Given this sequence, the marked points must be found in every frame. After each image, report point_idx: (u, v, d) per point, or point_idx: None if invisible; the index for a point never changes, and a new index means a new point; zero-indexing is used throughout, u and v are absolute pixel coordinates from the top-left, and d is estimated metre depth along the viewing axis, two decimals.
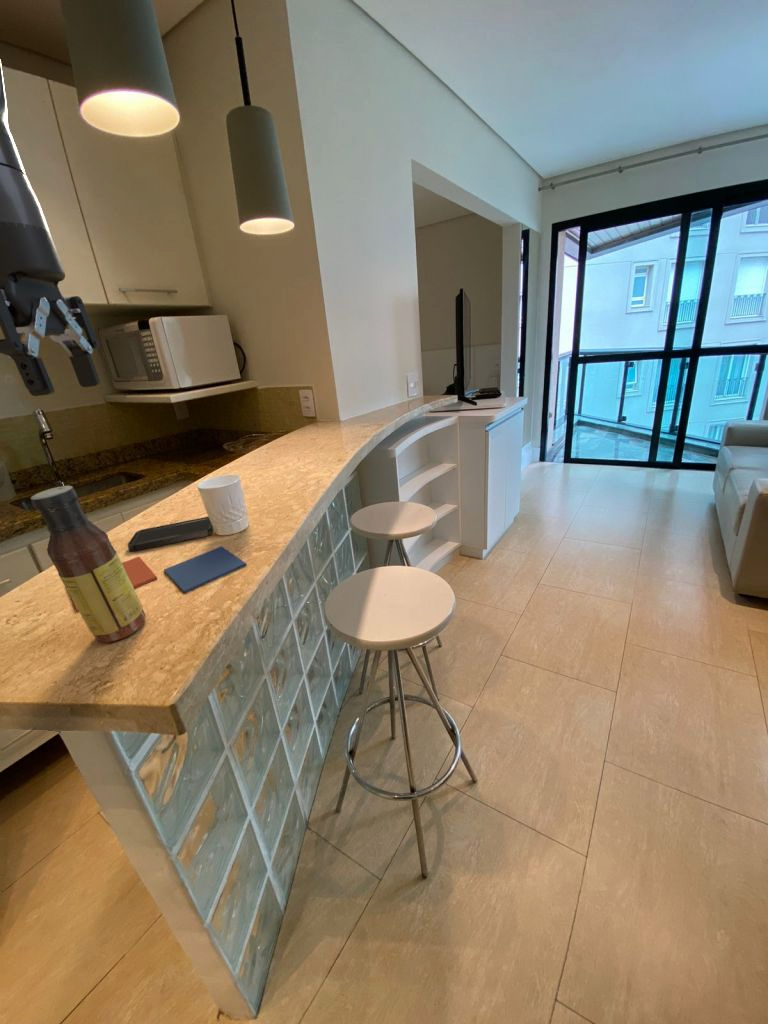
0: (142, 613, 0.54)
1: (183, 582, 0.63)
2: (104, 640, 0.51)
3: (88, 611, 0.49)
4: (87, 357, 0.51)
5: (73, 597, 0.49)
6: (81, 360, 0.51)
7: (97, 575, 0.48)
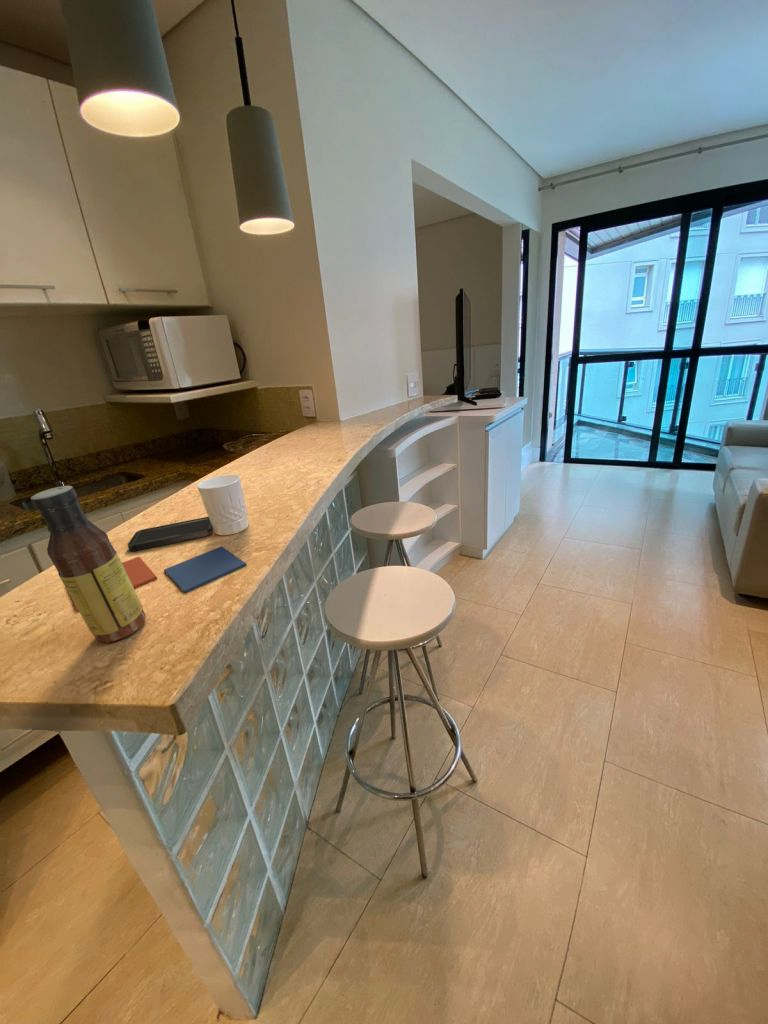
0: (142, 613, 0.54)
1: (183, 582, 0.63)
2: (104, 640, 0.51)
3: (88, 611, 0.49)
4: None
5: (73, 597, 0.49)
6: None
7: (97, 575, 0.48)
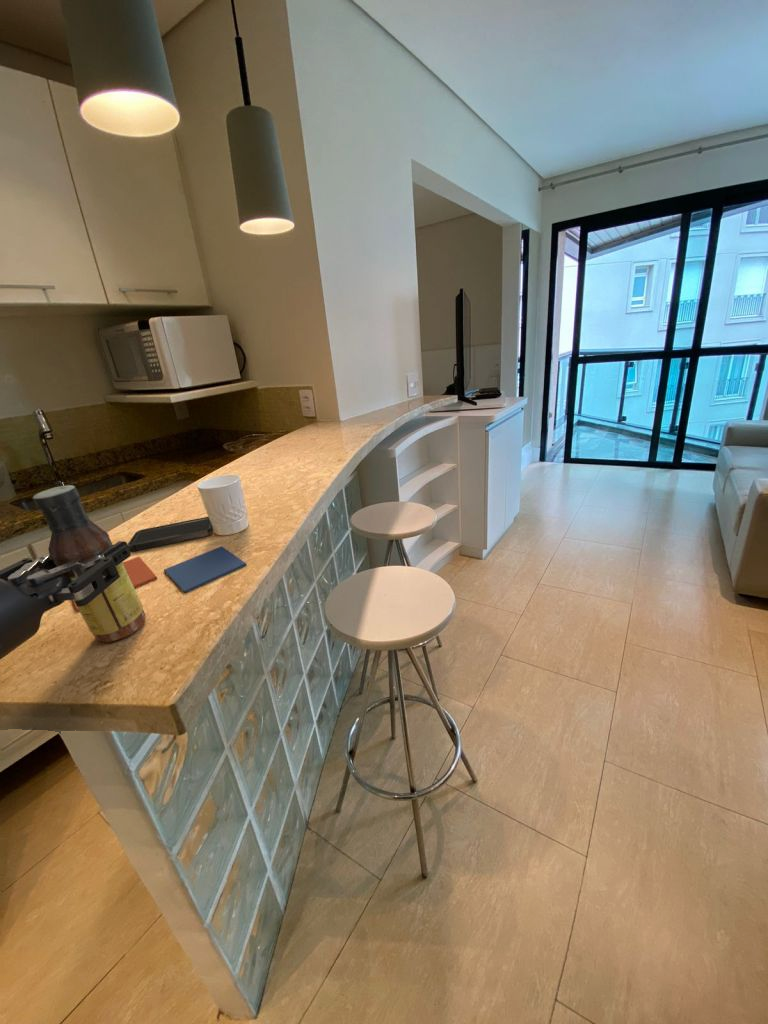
0: (142, 613, 0.54)
1: (183, 582, 0.63)
2: (104, 640, 0.51)
3: (89, 610, 0.49)
4: None
5: None
6: None
7: None
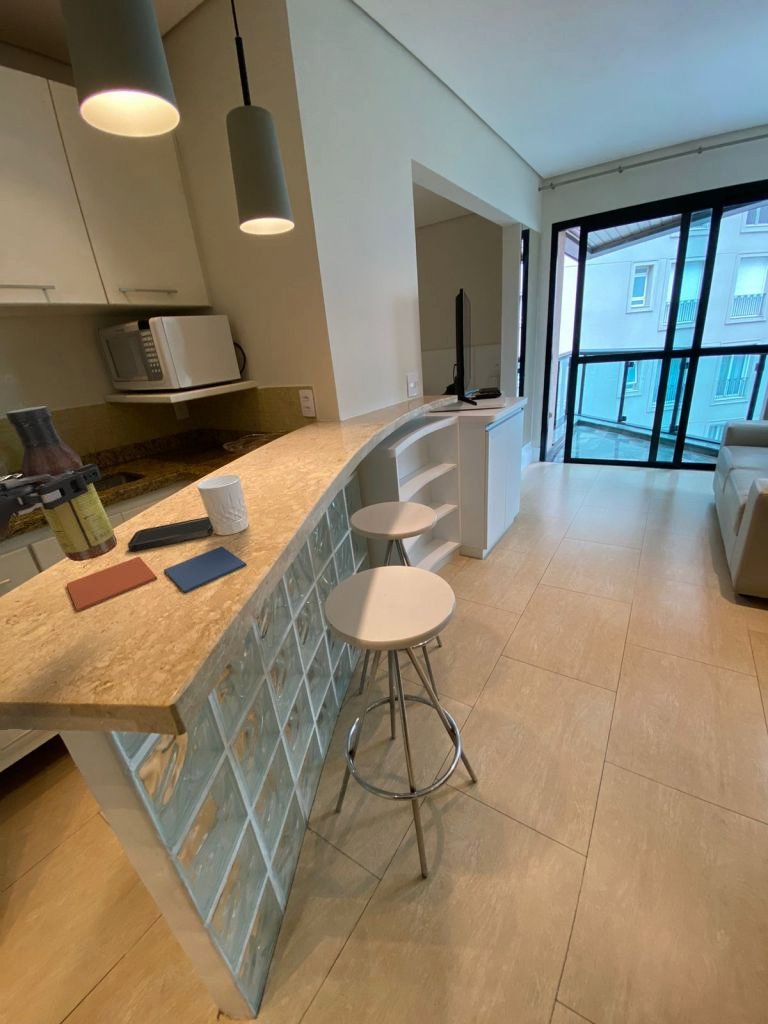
0: (113, 538, 0.57)
1: (183, 582, 0.63)
2: (75, 558, 0.54)
3: (60, 527, 0.52)
4: None
5: (45, 513, 0.51)
6: None
7: None
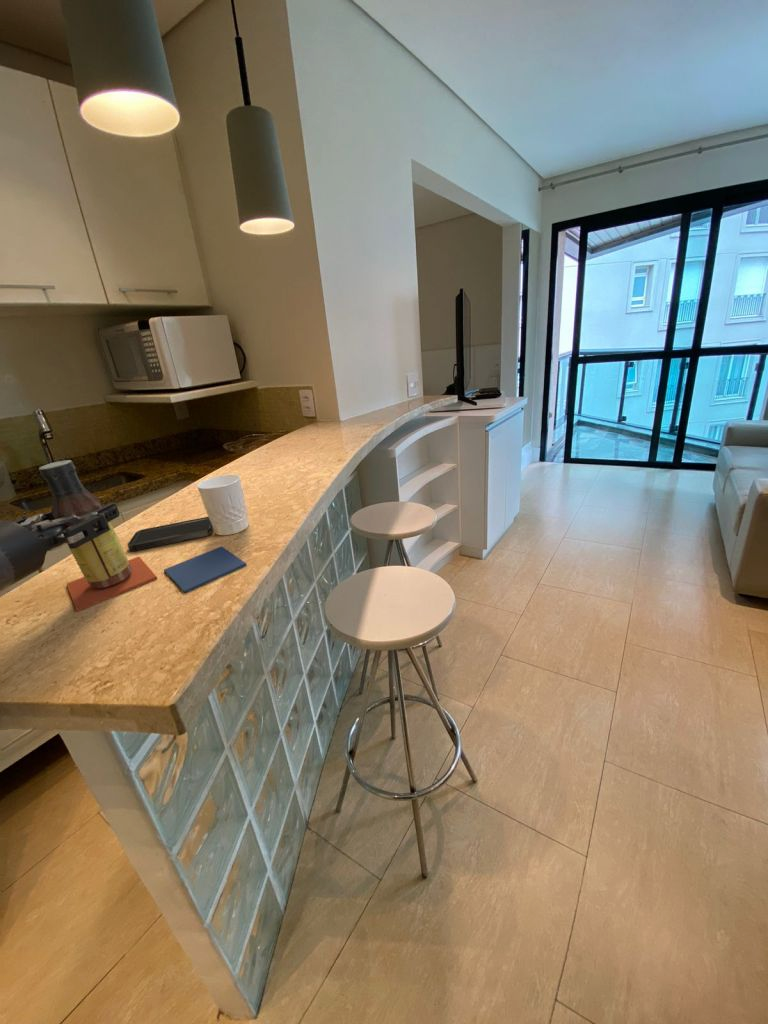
0: (128, 567, 0.66)
1: (183, 582, 0.63)
2: (97, 586, 0.63)
3: (84, 561, 0.61)
4: None
5: (72, 550, 0.61)
6: None
7: None
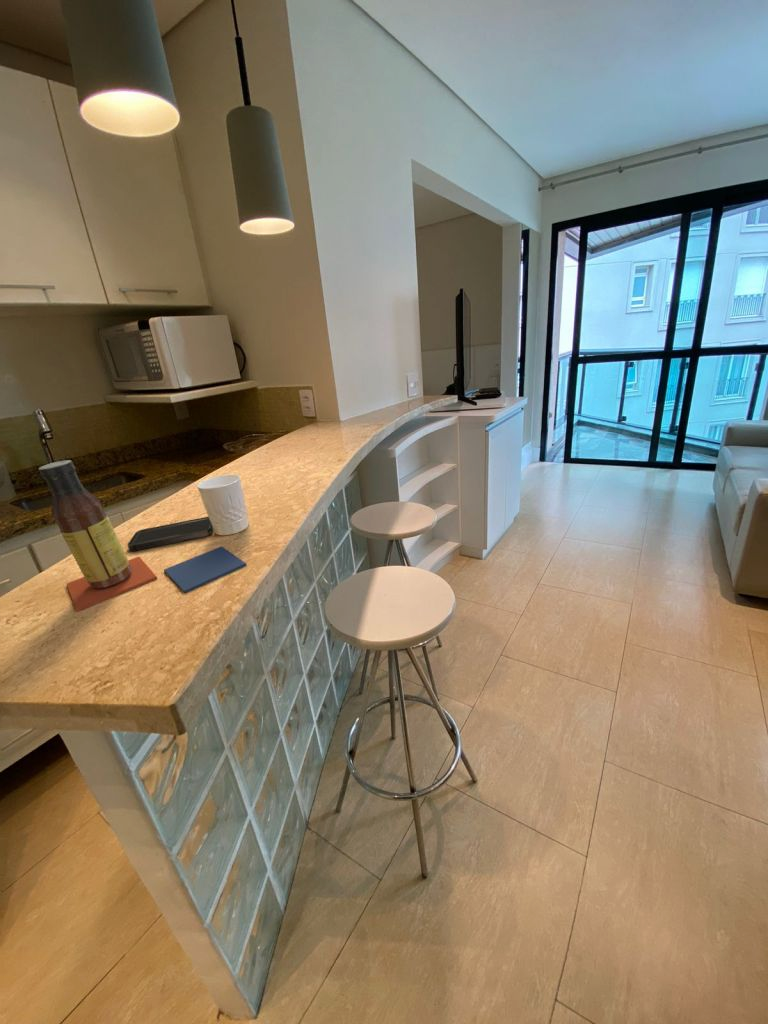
0: (128, 567, 0.66)
1: (183, 582, 0.63)
2: (97, 586, 0.63)
3: (84, 561, 0.61)
4: None
5: (72, 550, 0.61)
6: None
7: (91, 531, 0.60)
